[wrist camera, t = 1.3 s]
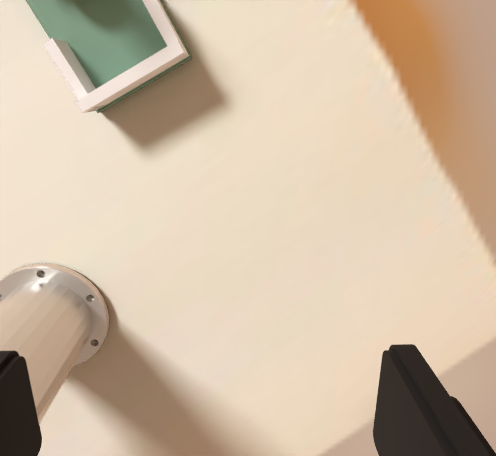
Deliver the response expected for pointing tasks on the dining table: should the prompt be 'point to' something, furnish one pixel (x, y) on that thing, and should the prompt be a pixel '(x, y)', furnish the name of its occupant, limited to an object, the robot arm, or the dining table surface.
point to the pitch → (109, 46)
